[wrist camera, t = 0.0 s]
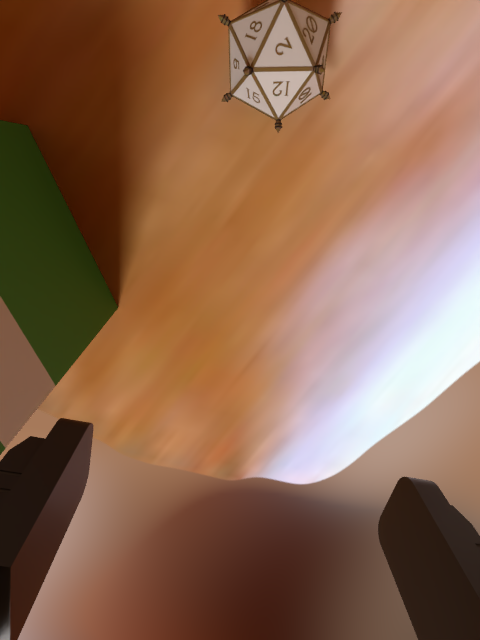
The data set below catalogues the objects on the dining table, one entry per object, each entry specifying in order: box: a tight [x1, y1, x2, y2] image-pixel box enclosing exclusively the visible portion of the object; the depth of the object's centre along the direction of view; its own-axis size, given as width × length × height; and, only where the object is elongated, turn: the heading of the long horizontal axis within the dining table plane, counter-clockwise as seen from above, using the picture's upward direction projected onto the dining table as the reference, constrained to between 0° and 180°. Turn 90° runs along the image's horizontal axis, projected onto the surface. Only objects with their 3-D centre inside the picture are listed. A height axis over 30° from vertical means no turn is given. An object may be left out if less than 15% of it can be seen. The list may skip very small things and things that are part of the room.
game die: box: [218, 0, 341, 133], centre depth 28 cm, size 9×8×10 cm
